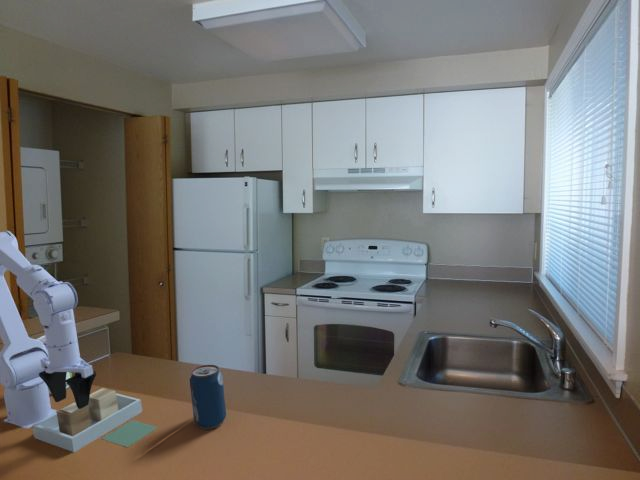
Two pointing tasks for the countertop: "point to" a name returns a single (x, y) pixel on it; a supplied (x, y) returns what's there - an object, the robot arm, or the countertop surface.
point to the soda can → (207, 396)
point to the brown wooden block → (73, 419)
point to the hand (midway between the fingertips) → (71, 403)
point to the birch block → (102, 404)
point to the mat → (129, 433)
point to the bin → (51, 434)
